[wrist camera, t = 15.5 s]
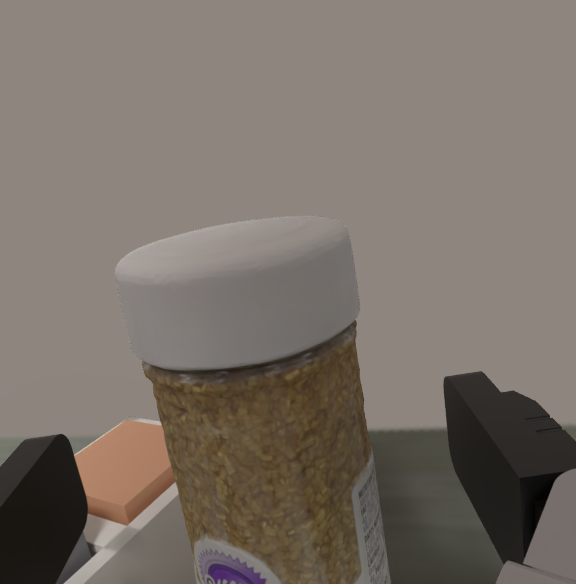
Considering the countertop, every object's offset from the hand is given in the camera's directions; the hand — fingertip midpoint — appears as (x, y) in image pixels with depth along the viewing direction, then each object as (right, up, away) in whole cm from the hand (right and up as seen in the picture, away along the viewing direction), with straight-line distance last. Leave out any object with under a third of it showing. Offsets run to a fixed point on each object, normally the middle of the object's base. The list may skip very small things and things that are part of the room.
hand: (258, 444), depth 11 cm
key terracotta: (-5, -5, +10) cm, 12 cm away
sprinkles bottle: (+2, -9, +3) cm, 9 cm away
